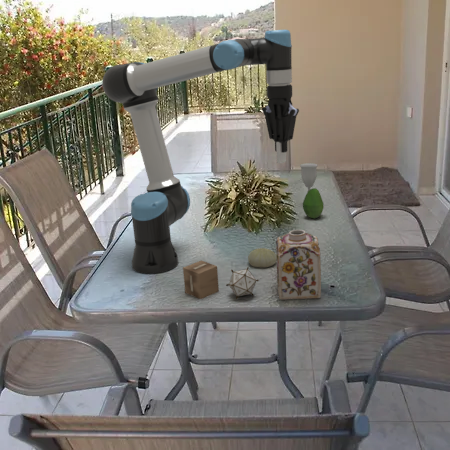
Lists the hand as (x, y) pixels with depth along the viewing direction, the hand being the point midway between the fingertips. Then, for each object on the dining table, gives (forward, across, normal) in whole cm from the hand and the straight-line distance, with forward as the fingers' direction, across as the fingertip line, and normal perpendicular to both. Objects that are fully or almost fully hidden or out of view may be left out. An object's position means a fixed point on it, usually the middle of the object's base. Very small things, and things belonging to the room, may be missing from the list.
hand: (281, 162), depth 181 cm
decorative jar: (+33, -19, +16) cm, 41 cm away
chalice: (+33, +30, -50) cm, 67 cm away
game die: (+33, -9, +28) cm, 44 cm away
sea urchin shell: (+33, +3, +7) cm, 34 cm away
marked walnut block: (+32, +2, +34) cm, 47 cm away
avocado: (+33, +20, -40) cm, 55 cm away
